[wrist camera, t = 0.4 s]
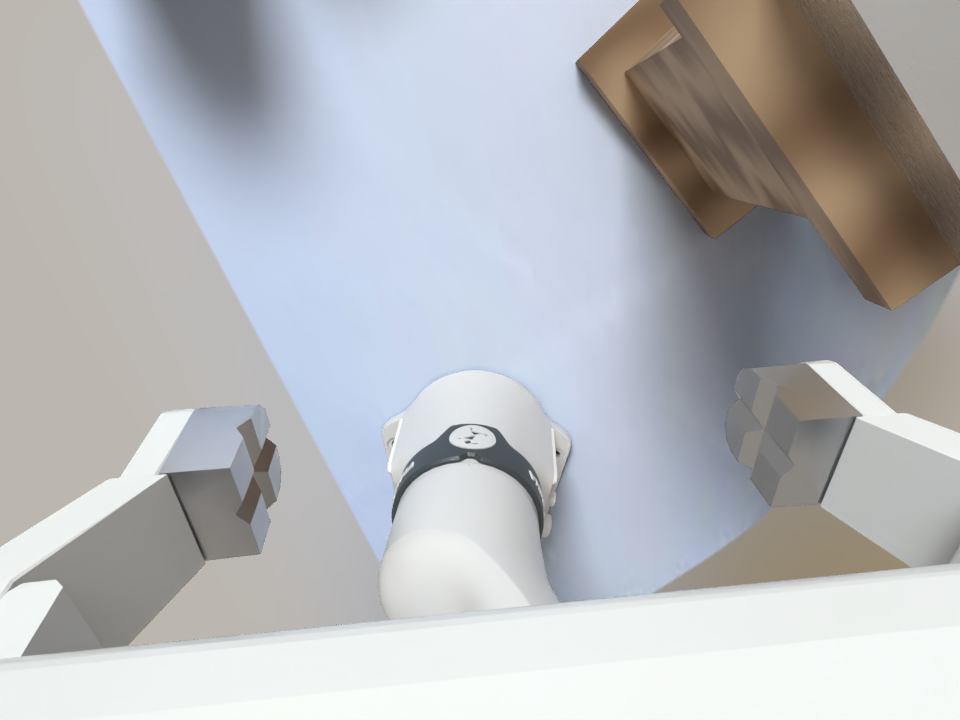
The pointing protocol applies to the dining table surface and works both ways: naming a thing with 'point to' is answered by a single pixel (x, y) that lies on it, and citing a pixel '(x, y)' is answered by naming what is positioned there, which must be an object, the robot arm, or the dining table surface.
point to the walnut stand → (765, 133)
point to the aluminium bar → (904, 88)
